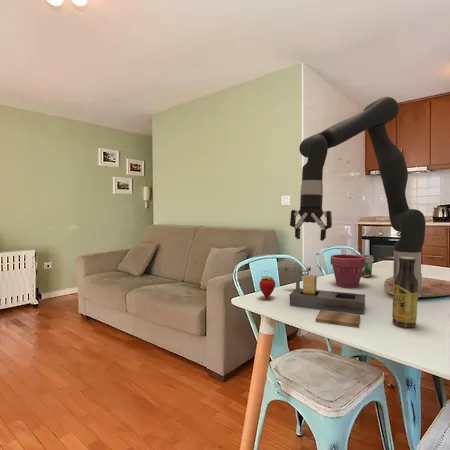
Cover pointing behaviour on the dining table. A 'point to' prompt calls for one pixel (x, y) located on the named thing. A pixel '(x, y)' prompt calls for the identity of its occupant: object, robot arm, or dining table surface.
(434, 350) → the dining table surface
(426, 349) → the dining table surface
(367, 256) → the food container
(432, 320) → the dining table surface
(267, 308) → the dining table surface
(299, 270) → the mechanical component
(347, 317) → the walnut board
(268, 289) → the strawberry
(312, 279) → the brass peg
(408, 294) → the sauce bottle
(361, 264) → the plant pot
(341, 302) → the grey slotted block
